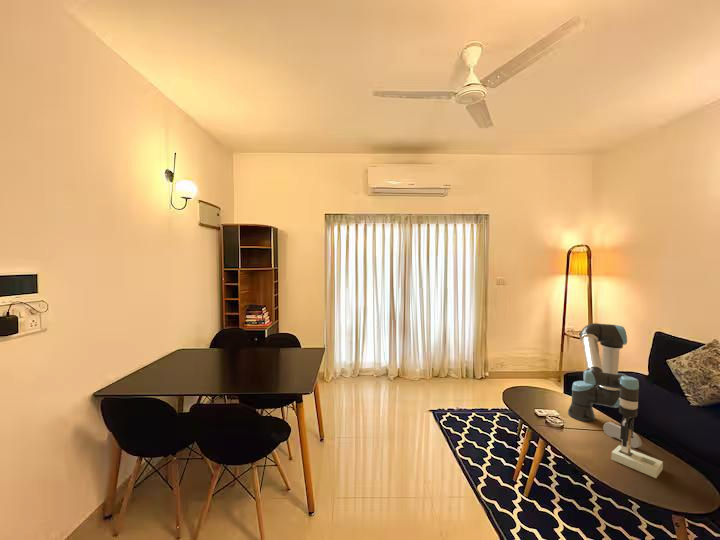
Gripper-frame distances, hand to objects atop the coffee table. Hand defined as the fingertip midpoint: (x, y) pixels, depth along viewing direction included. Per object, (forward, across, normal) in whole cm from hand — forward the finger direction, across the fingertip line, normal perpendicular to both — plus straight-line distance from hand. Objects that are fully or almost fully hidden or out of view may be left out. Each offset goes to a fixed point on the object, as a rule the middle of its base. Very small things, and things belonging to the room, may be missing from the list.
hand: (625, 450), depth 173 cm
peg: (+3, 0, 0) cm, 3 cm away
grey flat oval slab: (+5, -21, -8) cm, 23 cm away
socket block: (+5, 0, +4) cm, 7 cm away
